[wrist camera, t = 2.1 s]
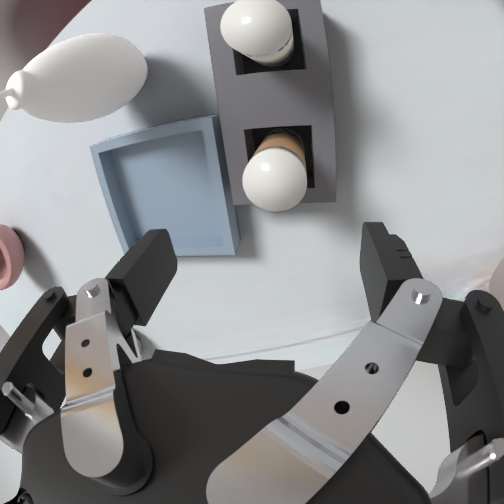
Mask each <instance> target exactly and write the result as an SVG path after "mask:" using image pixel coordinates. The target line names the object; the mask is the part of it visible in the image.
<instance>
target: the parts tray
mask: <svg viewBox="0 0 504 504" xmlns="http://www.w3.org/2000/svg"><path fill="white" fill-rule="evenodd" d="M90 150H91V153H92V157H93V161H94V165H95V168H96V172H97V175H98V179H99V182H100V186H101V189H102V192H103V195H104V198H105V201H106V205H107V208H108V211H109V213H110V216H111V219H112V222H113V225H114V228H115V231H116V233H117V236H118V239H119V241H120V244H121V247H122V249H123V252H124V254H125V253H126V252H127V251H128V250H129V249H130V248H131V247H132V246H133V245H135V244H136V243H138V241H139V240H140V239H141V238H142V237H143V236H144V235H145V234H146V232H147V231H148V230H151V229H167V231H168V232H169V235H170V238H171V242H172V245H173V248H174V252H175V255H176V256H205V255H235V254H236V251H237V249H238V246H239V243H240V234H239V227H238V221H237V215H236V209H235V205H233V198H232V192H231V186H230V180H229V173H228V167H227V161H226V154H225V148H224V142H223V135H222V129H221V122H220V116H219V114H216V115H210V116H203V117H198V118H192V119H187V120H181V121H176V122H172V123H167V124H162V125H158V126H154V127H150V128H145V129H141V130H138V131H134V132H130V133H126V134H123V135H119V136H116V137H112V138H109V139H106V140H103V141H101V142H99V143H96V144H94V145H92V146H90Z"/></svg>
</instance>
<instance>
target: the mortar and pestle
mask: <svg viewBox="0 0 504 504" xmlns="http://www.w3.org/2000/svg"><path fill="white" fill-rule="evenodd" d="M23 265H24V249H23V246H22V243H21V240H20V238H19V237H18V235H17V234H16V233H15V232H14V231H13V230H12V229H11V228H9V227H7V226H5V225H1V224H0V290H3V289H6V288H8V287H10V286H12V285H13V284H14V283H15V282H16V281H17V279H18V278H19V276H20V274H21V272H22V269H23Z"/></svg>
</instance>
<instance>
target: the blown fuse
mask: <svg viewBox="0 0 504 504" xmlns="http://www.w3.org/2000/svg"><path fill="white" fill-rule="evenodd" d="M242 182H243V188H244V191H245V193H246V195H247V197H248V198H249V200H250V201H251V202H252V203H253V204H255V205H256V206H257V207H259V208H261V209H264V210H267V211H271V212H281V211H286V210H288V209H291V208H293V207H294V206H296V205H297V204H298V203H299V202H300V201H301V200H302V198H303V197H304V194H305V192H306V188H307V175H306V162H305V151H304V144H303V141H302V139H301V137H300V136H299V135H298V134H297V133H296V132H294V131H293V130H290V129H287V128H278V129H275V130H273V131H271V132H269V133H268V134H267V135H266V137H265V138H264V140H263V141H262V143H261V144H260V146H259V147H258V149H257V150H256V152H255V153H254V155H253V157H252V158H251V160H250V161H249V163H248V164H247V166H246V168H245V170H244V173H243V179H242Z"/></svg>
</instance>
